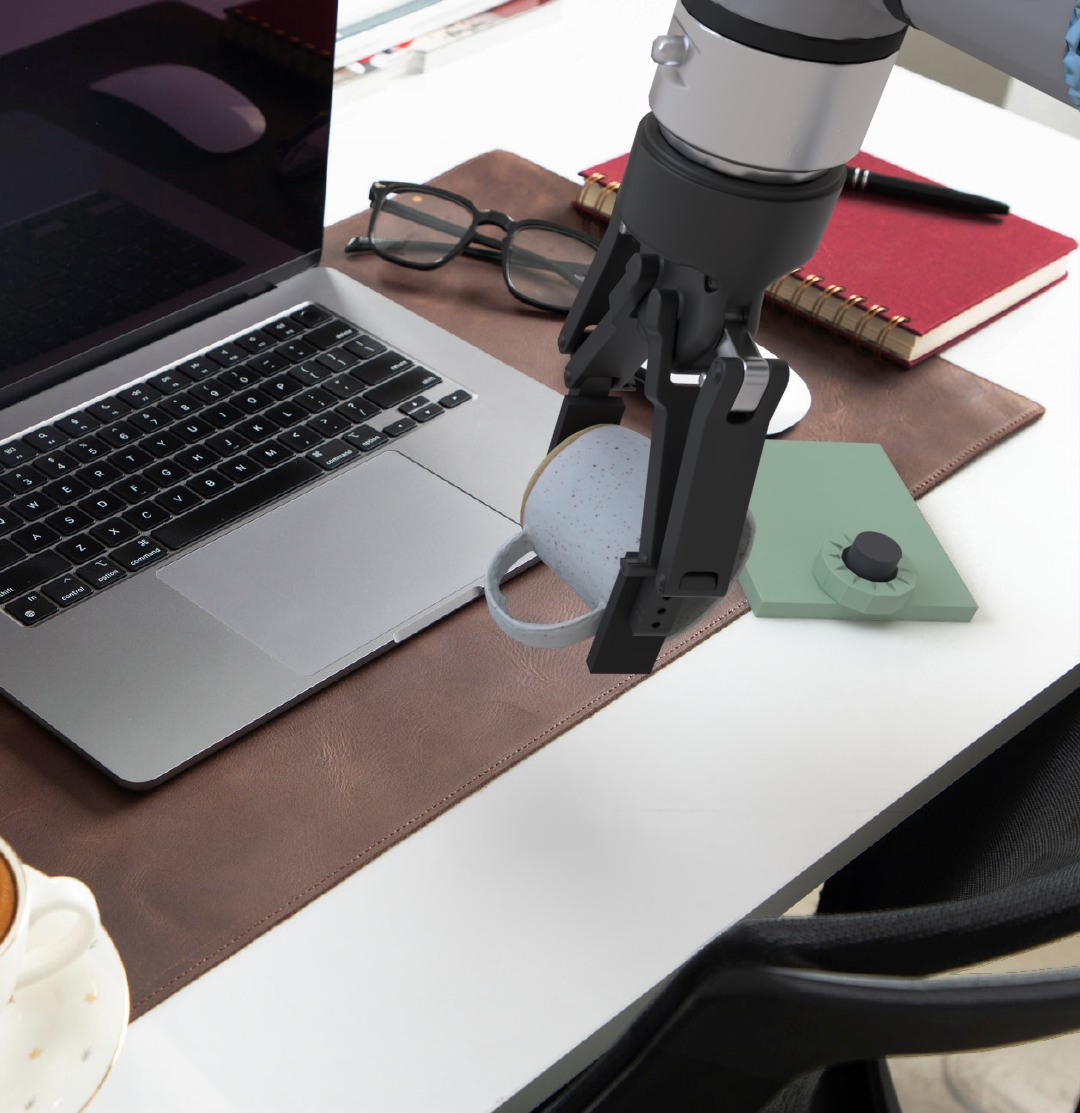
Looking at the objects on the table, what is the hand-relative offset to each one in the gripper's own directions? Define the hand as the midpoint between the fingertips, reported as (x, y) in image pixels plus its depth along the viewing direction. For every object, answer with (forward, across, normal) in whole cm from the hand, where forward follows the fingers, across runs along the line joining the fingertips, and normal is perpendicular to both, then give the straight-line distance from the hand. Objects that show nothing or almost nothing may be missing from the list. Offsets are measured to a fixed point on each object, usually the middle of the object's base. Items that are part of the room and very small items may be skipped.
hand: (587, 583), depth 67 cm
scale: (+15, -21, +25) cm, 36 cm away
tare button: (+13, -15, +25) cm, 32 cm away
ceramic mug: (+1, +1, 0) cm, 1 cm away
